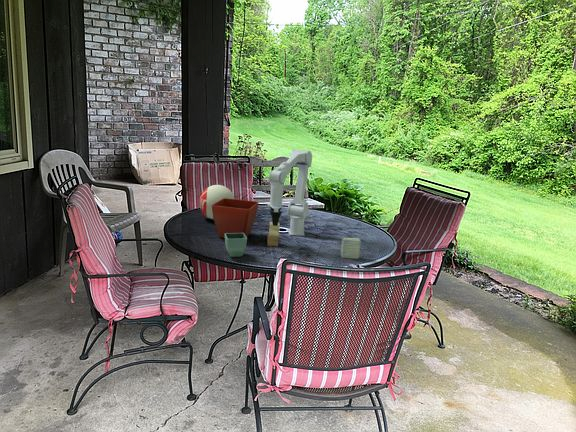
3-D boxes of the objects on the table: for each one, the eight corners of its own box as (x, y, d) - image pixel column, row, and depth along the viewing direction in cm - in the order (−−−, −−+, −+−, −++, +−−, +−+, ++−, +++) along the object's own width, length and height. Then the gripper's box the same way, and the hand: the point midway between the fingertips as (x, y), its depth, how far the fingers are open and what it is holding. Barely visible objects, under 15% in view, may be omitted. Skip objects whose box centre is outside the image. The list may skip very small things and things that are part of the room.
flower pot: (226, 258, 202) (227, 238, 200) (223, 252, 210) (224, 233, 208) (246, 258, 205) (247, 238, 202) (243, 251, 213) (243, 232, 211)
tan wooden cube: (267, 242, 229) (267, 232, 228) (277, 243, 230) (278, 233, 228) (267, 245, 224) (268, 235, 223) (277, 246, 225) (278, 236, 224)
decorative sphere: (201, 214, 276) (201, 181, 271) (235, 216, 277) (236, 182, 272) (196, 223, 256) (197, 187, 252) (233, 224, 258) (234, 189, 253)
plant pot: (247, 243, 227) (249, 209, 223) (210, 238, 230) (210, 205, 226) (257, 233, 245) (259, 201, 241) (222, 229, 248) (223, 197, 244)
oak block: (269, 233, 228) (269, 222, 227) (278, 233, 228) (279, 222, 227) (269, 235, 224) (270, 224, 222) (279, 235, 224) (279, 224, 223)
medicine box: (357, 256, 217) (359, 238, 215) (359, 259, 213) (360, 240, 211) (340, 255, 217) (342, 237, 215) (341, 258, 212) (343, 240, 210)
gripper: (268, 192, 228) (266, 219, 231) (268, 198, 214) (266, 227, 217) (282, 193, 229) (280, 220, 232) (283, 199, 215) (281, 227, 218)
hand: (275, 223), depth 225 cm, fingers open, 7 cm apart
